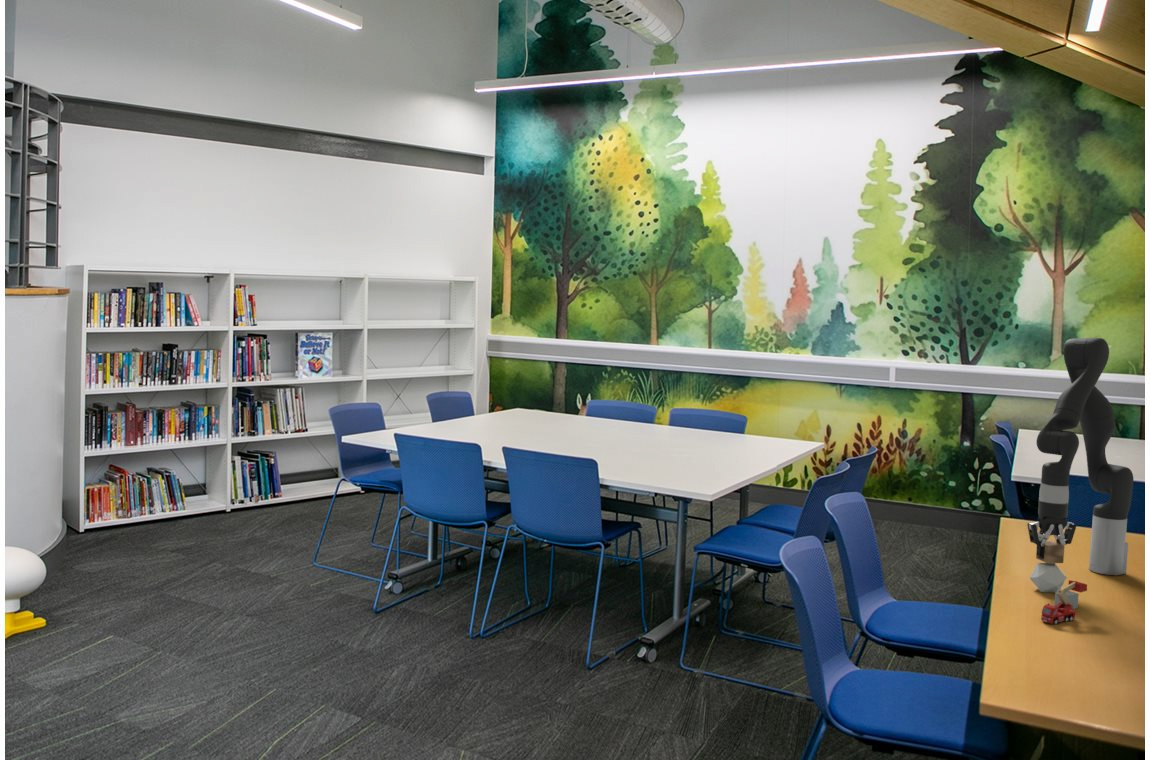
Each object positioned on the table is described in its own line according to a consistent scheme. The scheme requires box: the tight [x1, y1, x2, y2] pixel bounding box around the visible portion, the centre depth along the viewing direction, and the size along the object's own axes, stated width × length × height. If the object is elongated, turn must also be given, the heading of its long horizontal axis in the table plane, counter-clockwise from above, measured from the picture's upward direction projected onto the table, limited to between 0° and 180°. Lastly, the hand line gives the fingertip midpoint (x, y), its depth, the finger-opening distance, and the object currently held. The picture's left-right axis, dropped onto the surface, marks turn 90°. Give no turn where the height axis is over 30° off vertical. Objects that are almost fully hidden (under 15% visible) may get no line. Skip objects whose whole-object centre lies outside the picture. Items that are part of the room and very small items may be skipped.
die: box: [1029, 562, 1068, 593], centre depth 269 cm, size 8×9×10 cm
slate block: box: [1054, 590, 1079, 610], centre depth 255 cm, size 4×4×4 cm
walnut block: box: [1035, 540, 1065, 564], centre depth 269 cm, size 5×5×5 cm
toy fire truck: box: [1040, 579, 1088, 625], centre depth 244 cm, size 3×14×10 cm, turn 118°
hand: (1049, 558), depth 269 cm, fingers closed on walnut block, 4 cm apart
